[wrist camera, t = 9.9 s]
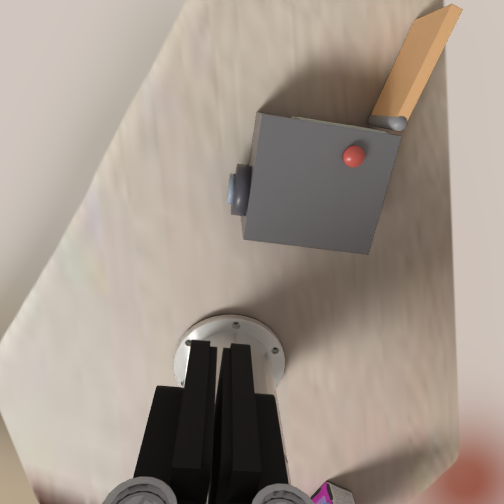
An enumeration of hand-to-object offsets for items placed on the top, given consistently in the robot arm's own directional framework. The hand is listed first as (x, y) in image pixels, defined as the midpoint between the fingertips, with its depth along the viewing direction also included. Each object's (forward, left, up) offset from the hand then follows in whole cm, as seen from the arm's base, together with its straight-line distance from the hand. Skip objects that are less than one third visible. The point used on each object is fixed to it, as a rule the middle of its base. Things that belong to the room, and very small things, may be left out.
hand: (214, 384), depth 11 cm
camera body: (+2, -7, -27) cm, 28 cm away
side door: (+12, -14, -27) cm, 32 cm away
